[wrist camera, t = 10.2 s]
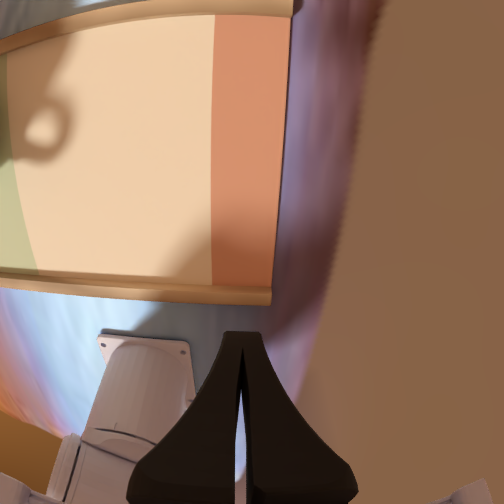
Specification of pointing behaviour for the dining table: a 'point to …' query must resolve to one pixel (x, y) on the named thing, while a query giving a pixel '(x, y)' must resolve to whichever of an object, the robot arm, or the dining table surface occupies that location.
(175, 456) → the robot arm
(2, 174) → the beige flat rectangular board
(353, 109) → the dining table surface
